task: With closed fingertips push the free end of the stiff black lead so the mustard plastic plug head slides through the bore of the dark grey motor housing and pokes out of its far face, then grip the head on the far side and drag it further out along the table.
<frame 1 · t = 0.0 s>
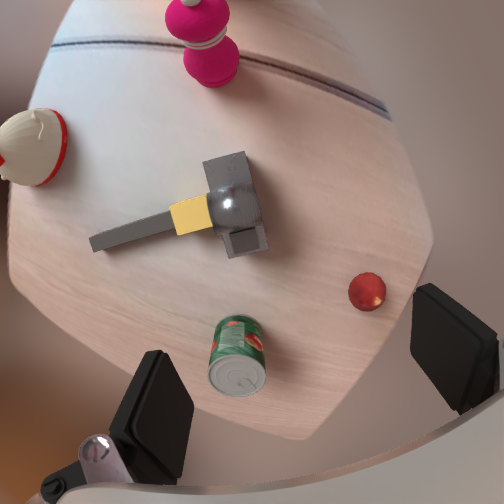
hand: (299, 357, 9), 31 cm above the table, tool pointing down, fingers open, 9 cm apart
red rounded piece: (358, 282, 42), on the table
plug: (197, 210, 39), on the table
kitchen timer: (40, 146, 35), on the table
canned tomato: (238, 333, 45), on the table
pepper mill: (215, 69, 33), on the table
motor housing: (238, 200, 38), on the table
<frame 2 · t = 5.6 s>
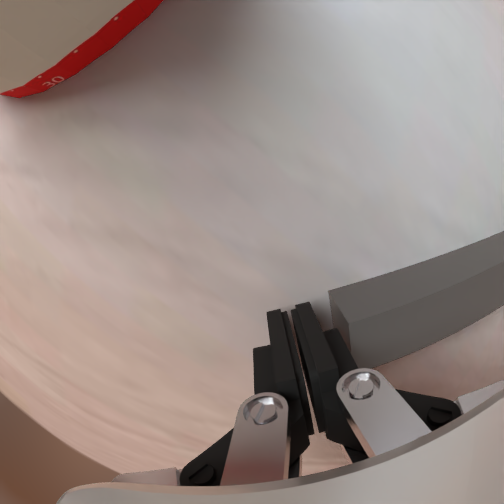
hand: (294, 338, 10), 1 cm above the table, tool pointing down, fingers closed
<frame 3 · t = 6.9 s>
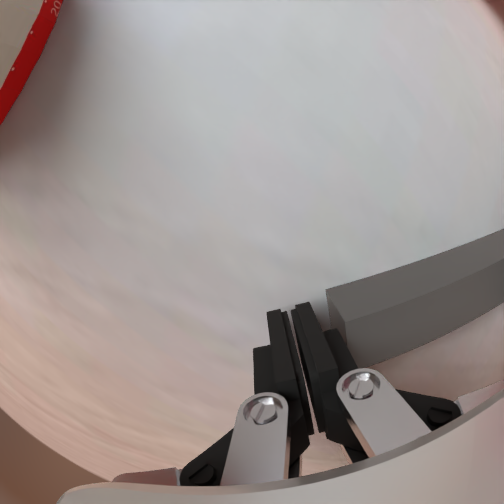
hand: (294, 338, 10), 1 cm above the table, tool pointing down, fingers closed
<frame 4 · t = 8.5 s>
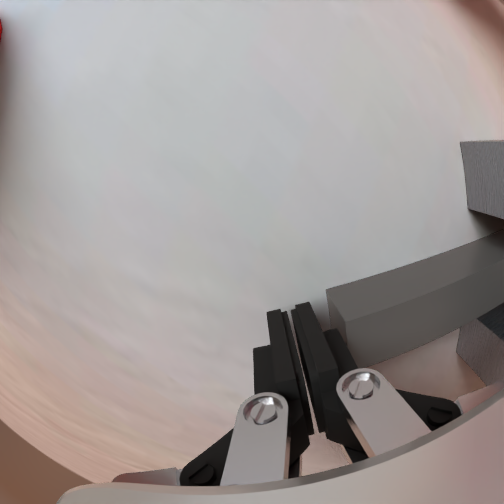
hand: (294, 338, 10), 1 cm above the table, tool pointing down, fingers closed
motor housing: (494, 250, 11), on the table
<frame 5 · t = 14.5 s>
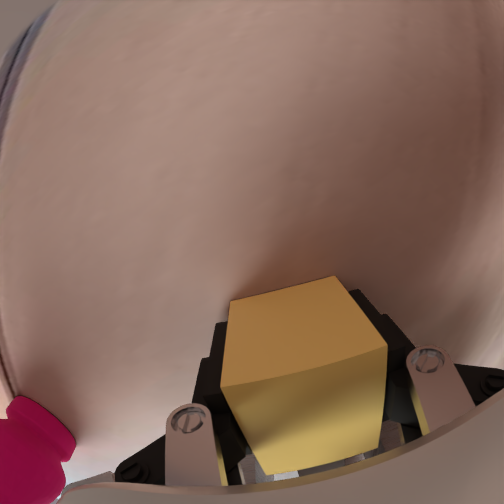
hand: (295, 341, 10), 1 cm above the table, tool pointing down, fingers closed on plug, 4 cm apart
plug: (295, 342, 11), on the table, touching gripper
pepper mill: (45, 422, 14), on the table
motor housing: (312, 434, 13), on the table
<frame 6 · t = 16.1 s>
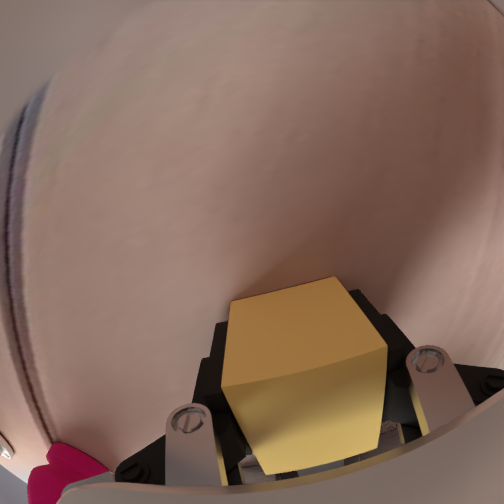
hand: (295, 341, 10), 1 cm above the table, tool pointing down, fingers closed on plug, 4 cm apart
plug: (295, 342, 11), on the table, touching gripper
pepper mill: (82, 461, 15), on the table
motor housing: (320, 469, 14), on the table
when the fingers open (1 cm above the table, at t = 17.7 s): plug stays where it is, on the table.
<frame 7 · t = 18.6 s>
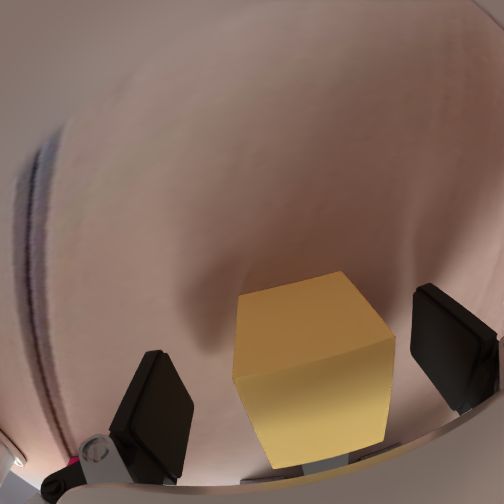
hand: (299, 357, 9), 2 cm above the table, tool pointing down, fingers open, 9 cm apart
plug: (301, 336, 11), on the table
motor housing: (324, 479, 15), on the table
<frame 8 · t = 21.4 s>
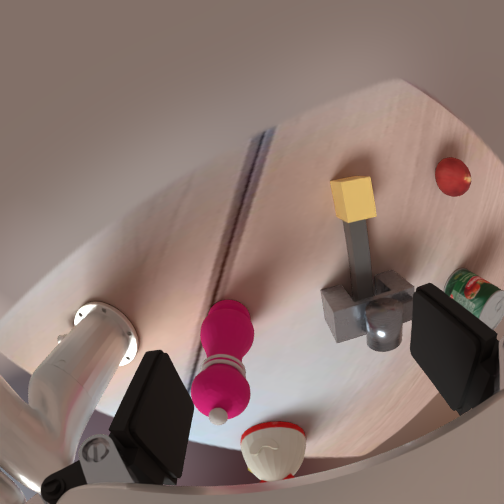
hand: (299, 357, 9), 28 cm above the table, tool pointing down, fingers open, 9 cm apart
red rounded piece: (437, 175, 35), on the table
plug: (346, 196, 36), on the table
kitchen timer: (272, 438, 50), on the table
canned tomato: (457, 287, 40), on the table
pepper mill: (229, 317, 41), on the table
motor housing: (359, 294, 40), on the table
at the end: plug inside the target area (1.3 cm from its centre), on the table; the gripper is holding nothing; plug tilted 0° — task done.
